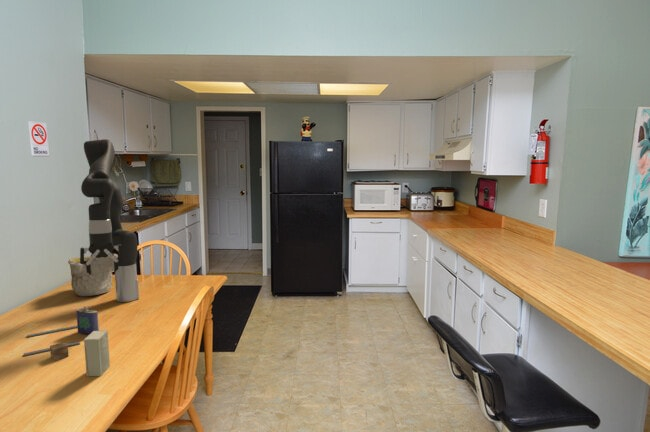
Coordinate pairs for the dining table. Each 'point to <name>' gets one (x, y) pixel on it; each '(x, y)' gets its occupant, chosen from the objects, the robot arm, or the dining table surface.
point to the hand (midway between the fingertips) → (102, 272)
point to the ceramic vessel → (92, 276)
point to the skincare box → (96, 353)
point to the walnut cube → (59, 351)
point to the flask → (87, 321)
